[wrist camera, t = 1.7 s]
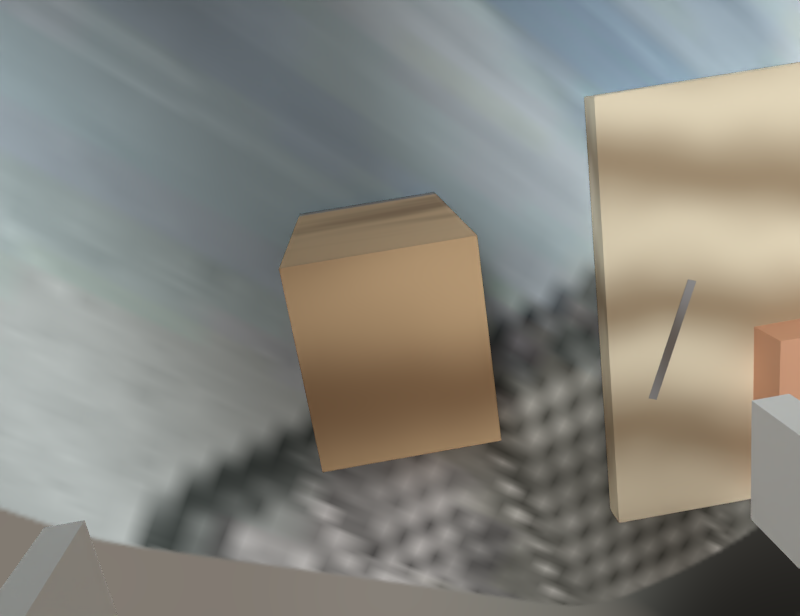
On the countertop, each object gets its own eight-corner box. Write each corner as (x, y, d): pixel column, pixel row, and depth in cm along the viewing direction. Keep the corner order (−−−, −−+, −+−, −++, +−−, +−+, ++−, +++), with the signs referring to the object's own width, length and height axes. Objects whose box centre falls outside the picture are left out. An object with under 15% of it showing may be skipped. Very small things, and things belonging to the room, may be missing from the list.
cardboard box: (299, 213, 29) (278, 268, 20) (433, 192, 29) (476, 235, 20) (329, 359, 31) (322, 472, 22) (453, 338, 32) (501, 440, 22)
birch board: (584, 96, 29) (594, 96, 28) (983, 32, 29) (1010, 29, 28) (610, 509, 35) (619, 523, 34) (937, 449, 36) (957, 461, 35)
